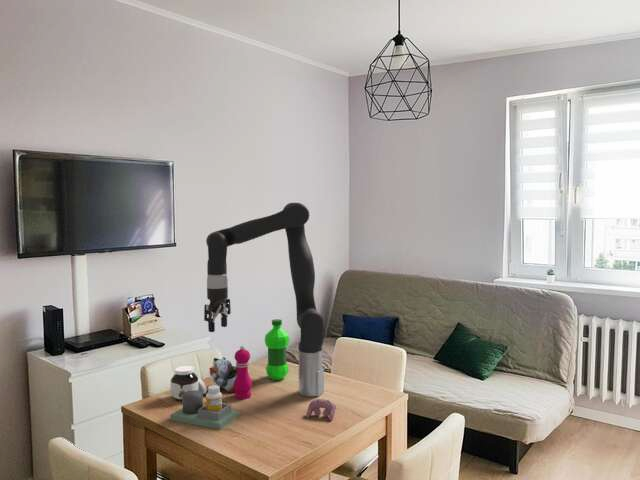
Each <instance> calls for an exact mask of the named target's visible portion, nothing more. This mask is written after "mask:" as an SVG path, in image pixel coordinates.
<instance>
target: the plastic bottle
mask: <svg viewBox="0 0 640 480" xmlns="http://www.w3.org/2000/svg"><path fill="white" fill-rule="evenodd" d="M271 325H272V328H271V329H270V330H269V331H268V332H267V333H266V334H265V336H264V343H265V346H266V347H267V364H266V366H265V372H266V375H267V376H268V377H269V379H271V380H274V381H280V380H283V379H284V378H285V377H286V376H287V375H288V373H289V371H290V370H289V366H288V364H287V347H288V346H289V343H290V336H289V335H288V333H287V332H286V331H285V330H284V329H282V328H281V327H282V325H283V321H282V319H279V318H276V319H272V320H271Z"/></svg>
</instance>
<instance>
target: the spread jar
mask: <svg viewBox="0 0 640 480" xmlns="http://www.w3.org/2000/svg"><path fill="white" fill-rule="evenodd" d="M174 369H175V370H174V375H173V376H172V377H171V378H170V394H171V397H172V398H173V399H174V400H175V401H177V402H182V394H183V393H184V392H187V391H192V390H198V391H201V392H203V395H204V394H207V393H208V392H207V391H208V387H207V386H206V383H205V382H204V381H203V380H202V379H201V378H200V377H198V375H197V374H196V373H195V372H194V367H193V366H191V365H183V366H182V365H181V366H178V367H175V368H174Z"/></svg>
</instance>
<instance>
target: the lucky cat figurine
mask: <svg viewBox="0 0 640 480" xmlns="http://www.w3.org/2000/svg"><path fill="white" fill-rule="evenodd" d="M209 376H210V377H211V380H212V381H213V382H214V383H215V385H218V386H220V388H222V389H224V390H225V391H227V392H229V393H232V394H233V393H235V391H236V390H235V389H234V387H233V385H234V380H235V378H236V376H237V366H236V365H233V363H232V362H231V361H230V360H228V359H226V357H224V356H222V357H221V359H219V358H216V357H214V358H213V362H212V366H210V367H209Z"/></svg>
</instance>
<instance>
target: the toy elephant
mask: <svg viewBox="0 0 640 480" xmlns="http://www.w3.org/2000/svg"><path fill="white" fill-rule="evenodd" d="M321 409H323V411H322V410H321ZM313 412H314V413H313ZM335 412H336V404H335V403H334V402H332V401H331V400H327V399H324V398H323V399H322V398H317V399H313V400H311V401H310V403H309V405H308V407H307V410H306V418H308V419H309V418H310V417H311V416H312V414H314V416H316V417H317V416H321V414H322V416H324V417H325V418H329V419H328V420H329V421H330V422H331V421H333V419H334V416H335Z"/></svg>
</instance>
